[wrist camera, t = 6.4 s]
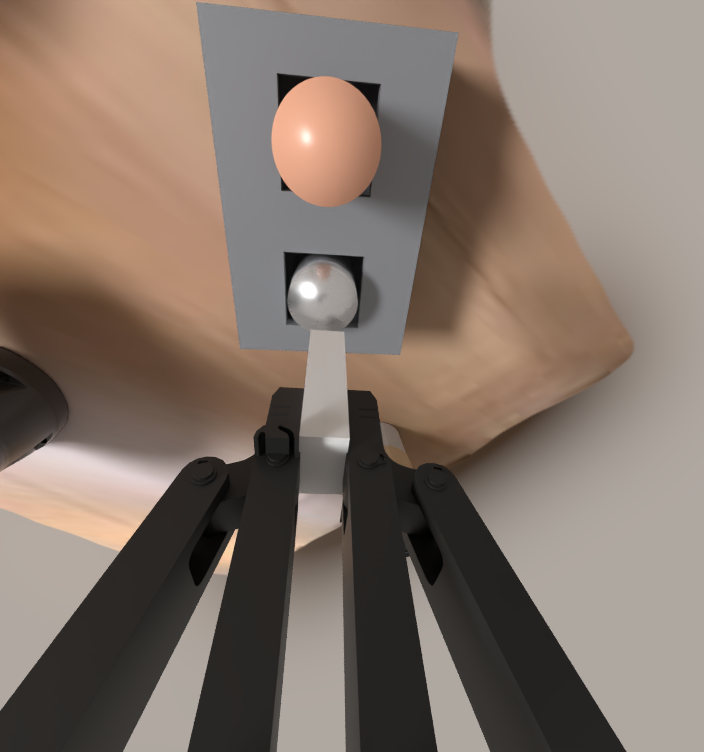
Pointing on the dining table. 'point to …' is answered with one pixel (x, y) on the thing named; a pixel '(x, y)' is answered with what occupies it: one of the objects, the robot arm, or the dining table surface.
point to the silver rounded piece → (323, 292)
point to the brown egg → (326, 141)
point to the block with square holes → (288, 211)
